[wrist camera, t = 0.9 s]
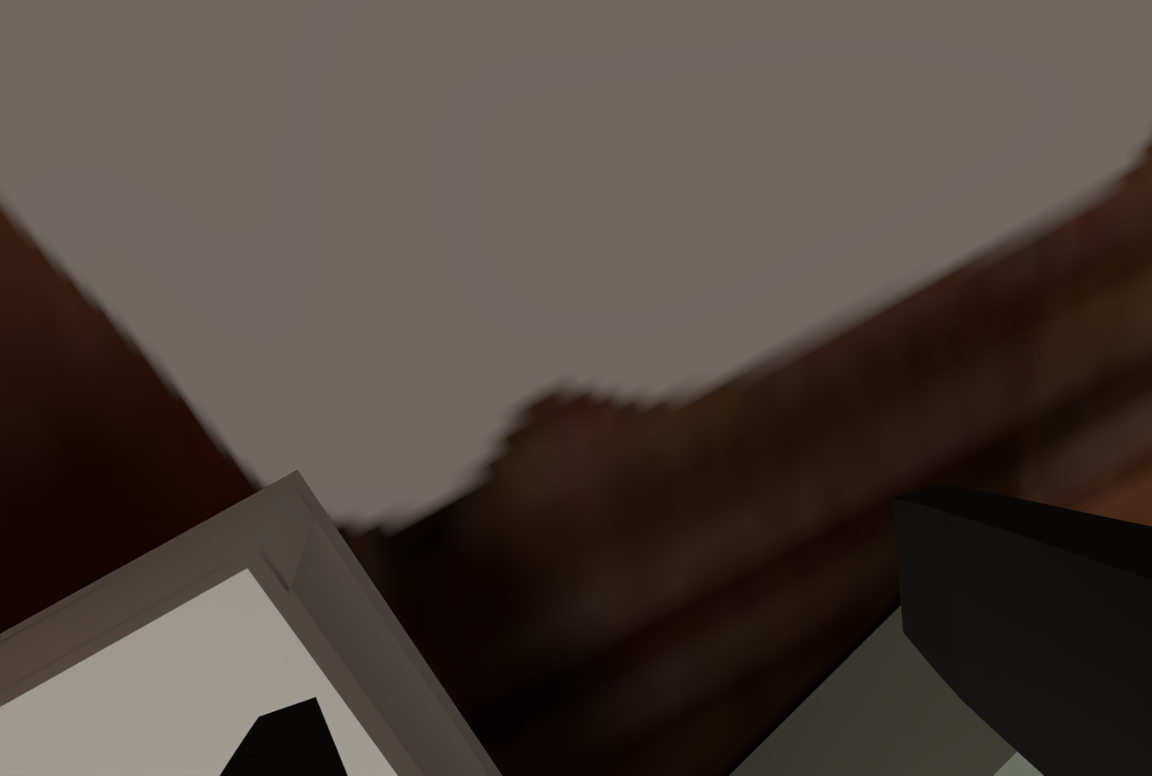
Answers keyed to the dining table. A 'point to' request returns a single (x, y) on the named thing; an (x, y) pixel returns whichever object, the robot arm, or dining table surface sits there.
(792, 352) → the dining table surface
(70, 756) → the white box
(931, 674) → the door
